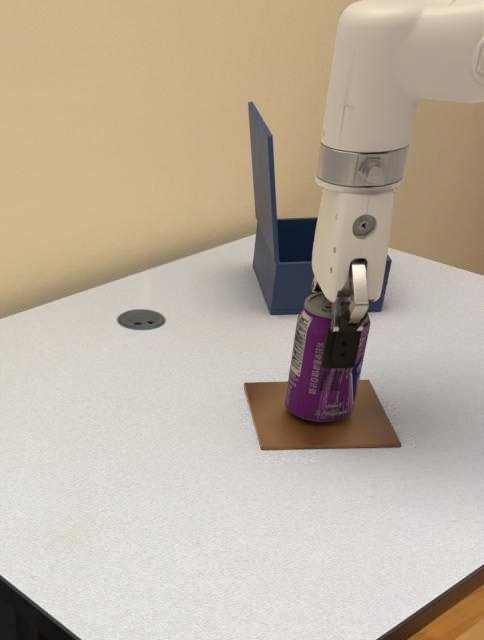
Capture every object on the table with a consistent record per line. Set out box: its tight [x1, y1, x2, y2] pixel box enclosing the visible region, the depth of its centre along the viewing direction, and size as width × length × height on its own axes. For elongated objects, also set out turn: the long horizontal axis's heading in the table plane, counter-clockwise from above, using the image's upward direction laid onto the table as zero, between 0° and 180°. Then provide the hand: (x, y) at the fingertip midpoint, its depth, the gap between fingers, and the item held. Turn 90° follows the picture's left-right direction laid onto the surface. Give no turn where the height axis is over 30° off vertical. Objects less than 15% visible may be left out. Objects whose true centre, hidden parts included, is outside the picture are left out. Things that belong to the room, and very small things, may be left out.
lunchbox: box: [252, 216, 393, 316], centre depth 120 cm, size 14×17×7 cm
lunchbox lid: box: [247, 101, 279, 261], centre depth 114 cm, size 15×17×1 cm
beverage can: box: [285, 292, 371, 422], centre depth 92 cm, size 7×7×12 cm
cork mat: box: [243, 379, 402, 450], centre depth 96 cm, size 14×14×1 cm
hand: (329, 347), depth 91 cm, fingers open, 7 cm apart
